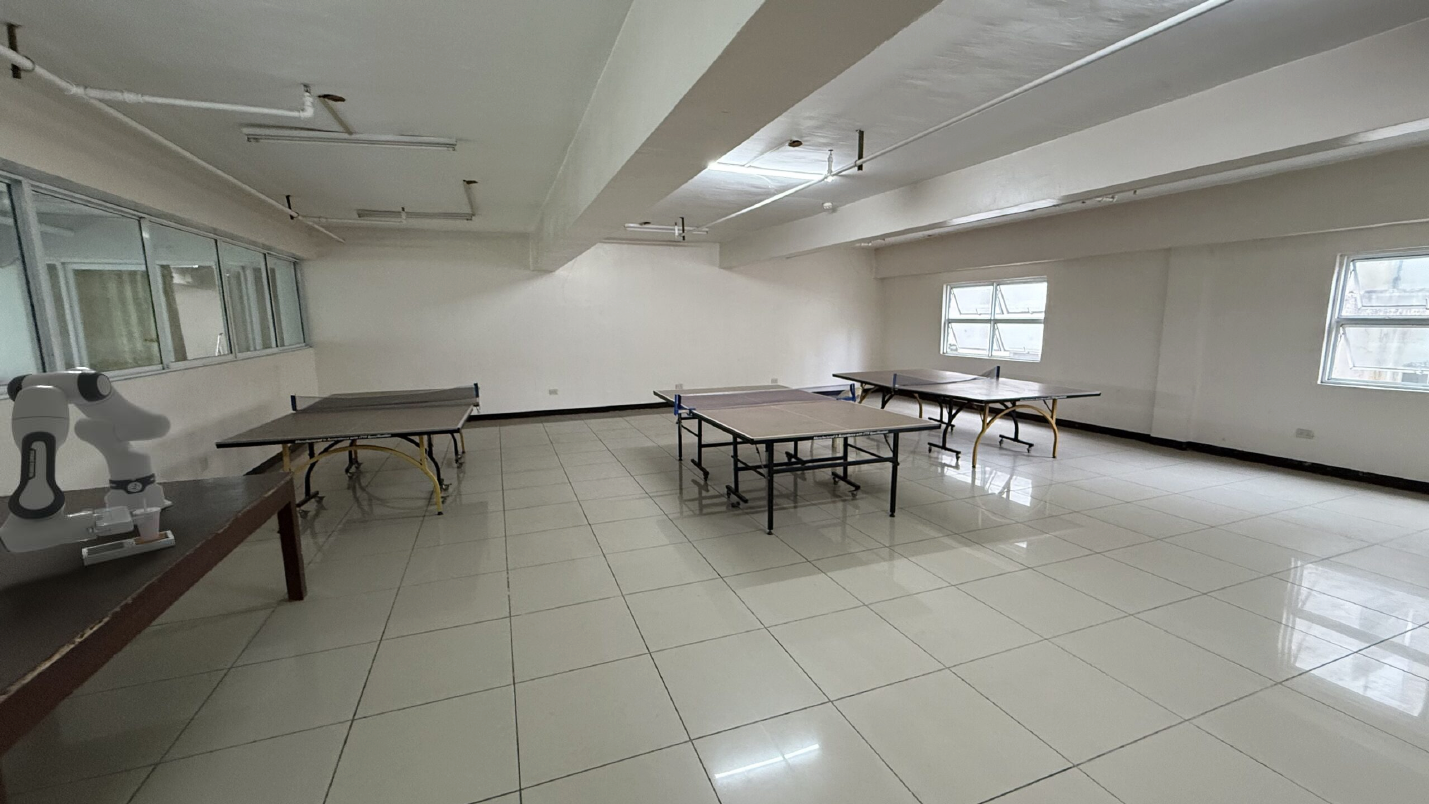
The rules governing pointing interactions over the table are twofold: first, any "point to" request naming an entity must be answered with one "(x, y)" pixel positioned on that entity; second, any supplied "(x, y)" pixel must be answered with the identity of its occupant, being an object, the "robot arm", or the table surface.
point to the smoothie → (148, 522)
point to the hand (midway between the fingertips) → (151, 513)
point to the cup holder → (126, 548)
